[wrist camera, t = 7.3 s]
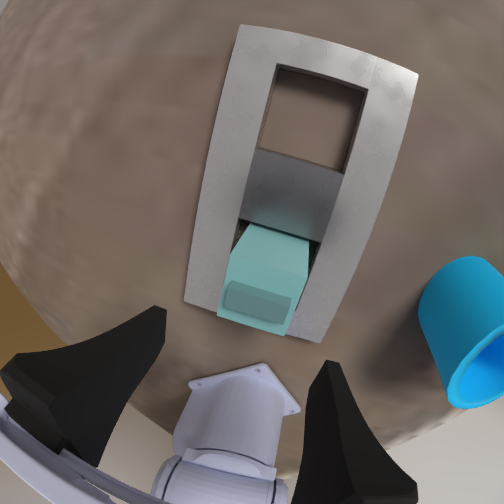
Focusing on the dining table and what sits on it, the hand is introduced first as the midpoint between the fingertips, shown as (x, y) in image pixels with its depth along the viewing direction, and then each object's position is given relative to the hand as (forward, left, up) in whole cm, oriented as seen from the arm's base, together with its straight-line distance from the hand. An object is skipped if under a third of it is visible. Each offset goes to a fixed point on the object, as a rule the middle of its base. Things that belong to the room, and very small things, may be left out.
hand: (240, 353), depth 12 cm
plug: (0, 0, -10) cm, 10 cm away
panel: (+4, +4, -10) cm, 11 cm away
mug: (+13, -12, -10) cm, 20 cm away
